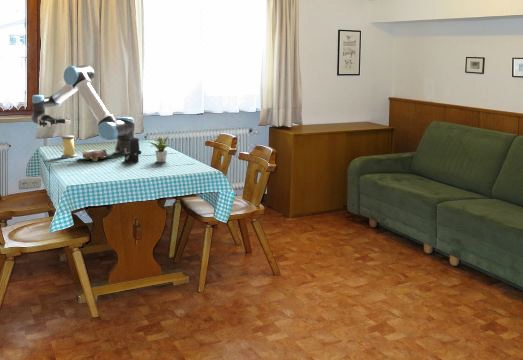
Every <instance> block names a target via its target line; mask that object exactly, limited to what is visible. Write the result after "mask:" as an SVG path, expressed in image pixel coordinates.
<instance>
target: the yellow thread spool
mask: <svg viewBox="0 0 523 360" xmlns="http://www.w3.org/2000/svg"><path fill="white" fill-rule="evenodd" d="M74 138H75V135H62V136H61V139H62V149H63V153H62V155H61V158H63V159H73V158H74V157H75V158H77V154H76V153H75V142H74V141H75V140H74Z"/></svg>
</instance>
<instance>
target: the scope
mask: <svg viewBox="0 0 523 360" xmlns="http://www.w3.org/2000/svg"><path fill="white" fill-rule="evenodd" d="M130 141H131V142H130V152H128V153H127V152H126V148H125V152H124V154H123V155H124V156H123V158H124V162H125V163H126V164H127V163H137V162H139V156H140V155H142V151H141V150H140V143H139V141H140V139H139V138H138V137H135V138H131V139H130Z"/></svg>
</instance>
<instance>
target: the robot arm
mask: <svg viewBox="0 0 523 360" xmlns="http://www.w3.org/2000/svg"><path fill="white" fill-rule="evenodd" d="M95 73H96V72H95V70H94V68H92V67H91V66H90V65H87V64H86V65H85V64H84V65H71V66H67V67H66V68H65V69H64V71H63V80H64V83H66V84H64V85H63V86H62V87H60V89H58V90H57V91H55V92H54V93H53V94H51V95H50V96H45V95H44V94H33V95H32V97H31V99H32V100H31V102H32V103H31V104H32V114H31V117H30V120H31V122H32V123H34V124H36V125H39V126H40V127H41V126H42V127H49V128H50V127H51V126H52V125H58V124H65V125H69V126H71V125H72V121H71V120H70V118H67V117H66V118H60V117H58V118H54V117H53V116H52V115H50V114H46V109H53V108H59V107H60V106H61V105H62V103H63V102H64V101H65V100H67V99H68V98H69V97H71V96H72V95H73V94H75V93H76V92H77V91H78V92H79V94H80V95H81V97H82V99H83V100H84V102H85V103H86V105H87V107H88V108H89V110H90V111H91V113H92V114H93V116H94V117H95V119H96V120H97V132H98V135H99V136H100V138H102V139H104V140H106V141H112V140H116V142H115V146H114V154H116V155H117V154H118V155H124V152H125V148H126V152H127V153H128V152H130V142H131V141H130V139H131V138H136V129H135V128H136V127H135V119H134V118H133V117H128V116H127V117H126V116H125V117H123V116H116V117H115V115H114V114H110V112H109V110H108V109H107V107H106V106H105V105H104V103H103V102H102V100H101V98H100V97H99V95H98V94H97V93H96V91H95V89H94V87H93V86H92V85H91V83H92V82H94V80H95V78H96V77H95V75H96V74H95Z"/></svg>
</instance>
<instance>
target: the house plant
mask: <svg viewBox="0 0 523 360" xmlns="http://www.w3.org/2000/svg"><path fill="white" fill-rule="evenodd" d="M169 139H170V135H169V136H168V135H167V136H164V137H162V135H157V136H156V135H155V138H154V137H152V140H153V141H154V142H155V143H154V142H149V141H148V142H147V143H149V144H150V148H151V147H154V148H155V149H156V150H155V151H154V152H155V157H156V161H157V163H164V162H167V154H168V150H165V149H166V148H167V147H169V146H171V145H170V144H166V143H167V141H169Z"/></svg>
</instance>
